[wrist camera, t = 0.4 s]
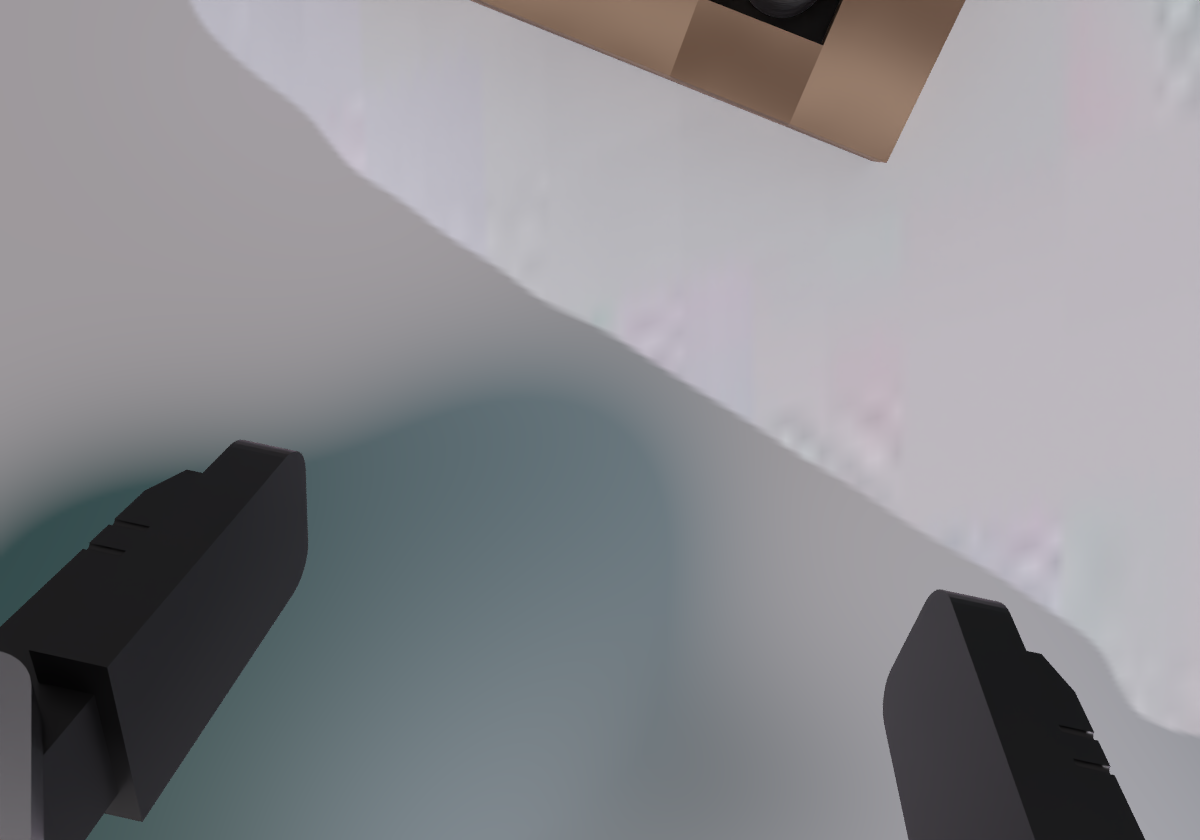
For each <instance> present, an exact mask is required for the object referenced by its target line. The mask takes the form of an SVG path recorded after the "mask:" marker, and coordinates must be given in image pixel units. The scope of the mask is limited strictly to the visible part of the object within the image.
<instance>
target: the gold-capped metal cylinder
mask: <svg viewBox="0 0 1200 840" xmlns="http://www.w3.org/2000/svg"><path fill="white" fill-rule="evenodd" d="M816 1H817V0H750V2H751V3H752V4H753V5H754V7H756V8H757V9H758V10H759V11H761V12H762V13H764V14H766V15H768V16H771V17H776V18H787V17H792V16H795V15H798V14H800V13H802V12H804V11H805V10H807V9H808V8H809V7H811V6H812V5H813V4H814V3H815V2H816Z"/></svg>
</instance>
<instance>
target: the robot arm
mask: <svg viewBox="0 0 1200 840" xmlns="http://www.w3.org/2000/svg"><path fill="white" fill-rule="evenodd" d="M305 471H306V469H305V462H304V458H303V456H302V454H301V453H300V452H298V451H293V450H288V449H283V448H279V447H274V446H269V445H265V444H260V443H255V442H250V441H246V440H238V441H236V442H234V443H232V444H231V445H230V446H229V447H228V448H227V449H226V450H225V451H224V452H223V453H222V454H221V455H220V456H219V457H218V458H217V459H216V460H215V461H214V462H213V463H212V464H211V465H210V466H209V467H208V468H207V469H206V470H205V471H204V472H203V473H199V472H195V471H190V470H185V471H183V472H181V473H179V474H177V475H175V476H173V477H171V478H169V479H167V480H165V481H163V482H161V483H159V484H157V485H155V486H153V487H151V488H149V489H147V490H145V491H144V492H143V493H142V494H141V495H140V496H139V497H138V498H137V499H135V500H134V502H132V503H131V504H130V505H129V506H128V507H127V508H126V509H125V510H124V511H123V512H122V513H121V514H120V515H118V516H117V517H116V518H115V522H114V524H113V525H108V526H107V527H106V528H105V529H104V530H103V531H101V532H100V533H99V534H98V535H97V536H96V537H95V538H94V539H93V540H92V541H91V542H90V545H89V548H88V549H87V550H85V549H82V550H81V551H80V552H79V553H78V554H77V555H76V556H75V557H74V558H73V559H72V560H71V561H70V562H69V563H68V564H67V565H65V567H63V568H62V569H61V570H60V571H59V572H58V573H57V574H56V575H55V576H54V577H53V578H52V579H51V580H50V581H48V582H47V584H45V585H44V586H43V587H42V588H41V589H40V590H39V591H38V592H37V593H36V594H35V595H34V596H33V597H32V598H30V599H29V600H28V601H27V602H26V603H25V604H24V605H23V606H22V607H21V608H20V609H19V610H18V611H17V612H16V613H15V614H13V615H12V616H11V617H10V618H9V619H8V620H7V621H6V622H5V623H4V624H3V625H2V626H1V627H0V840H85V839H86V838H87V836H88V835H89V834H90V832H91V831H92V829H93V828H94V827H95V825H96V824H97V822H98V821H99V820H100V818H101V817H102V815H103V814H104V813H105V814H110V815H114V816H119V817H124V818H128V819H132V820H136V821H141V822H143V820H144V819H145V817H146V816H147V814H148V813H149V811H150V810H151V808H152V806H153V805H154V804H155V802H156V800H157V799H158V797H159V796H160V794H161V793H162V791H163V790H164V788H165V787H166V785H167V784H168V782H169V781H170V779H171V778H172V776H173V775H174V773H175V772H176V770H177V769H178V767H179V765H180V764H181V763H182V761H183V760H184V758H185V757H186V755H187V754H188V752H189V751H190V749H191V747H192V746H193V745H194V743H195V741H196V740H197V738H198V737H199V735H200V734H201V732H202V731H203V729H204V728H205V726H206V725H207V723H208V722H209V720H210V719H211V717H212V716H213V714H214V713H215V711H216V710H217V708H218V707H219V705H220V704H221V702H222V701H223V699H224V698H225V696H226V694H227V693H228V692H229V690H230V688H231V687H232V685H233V684H234V683H235V681H236V680H237V678H238V676H239V675H240V673H241V672H242V670H243V669H244V667H245V666H246V664H247V663H248V661H249V659H250V658H251V657H252V655H253V654H254V652H255V651H256V649H257V648H258V646H259V645H260V643H261V642H262V640H263V639H264V637H265V636H266V634H267V633H268V631H269V629H270V628H271V626H272V625H273V624H274V622H275V620H276V619H277V617H278V616H279V614H280V613H281V611H282V610H283V608H284V607H285V605H286V604H287V602H288V601H289V599H290V598H291V596H292V595H293V593H294V591H295V590H296V587H297V586H298V584H299V581H300V579H301V576H302V573H303V570H304V567H305V563H306V558H307V551H308V529H307V528H308V527H307V499H306V472H305ZM883 718H884V725H885V730H886V735H887V739H888V744H889V748H890V753H891V758H892V763H893V767H894V772H895V777H896V782H897V787H898V791H899V796H900V801H901V805H902V810H903V815H904V820H905V824H906V829H907V834H908V839H909V840H1145V838H1144V836H1143V834H1142V832H1141V830H1140V828H1139V826H1138V824H1137V822H1136V819H1135V817H1134V815H1133V813H1132V811H1131V809H1130V807H1129V805H1128V803H1127V801H1126V798H1125V796H1124V794H1123V792H1122V790H1121V788H1120V786H1119V784H1118V782H1117V779H1116V777H1115V776H1114V775H1110V773H1109V768H1110V765H1109V763H1108V761H1107V759H1106V756H1105V754H1104V752H1103V750H1102V748H1101V746H1100V744H1099V742H1098V741H1097V740H1094V739H1093V734H1094V731H1093V729H1092V727H1091V725H1090V723H1089V721H1088V719H1087V716H1086V715H1085V712H1084V710H1083V708H1082V706H1081V704H1080V702H1079V700H1078V698H1077V695H1076V694H1075V692H1074V690H1073V689H1072V688H1071V687H1070V686H1069V685H1068V684H1067V683H1066V681H1064V679H1063V678H1062V677H1061V676H1060V675H1059V674H1058V673H1057V671H1056V670H1055V669H1054V668H1053V667H1052V666H1051V665H1050V663H1049V662H1048V661H1047V660H1046V659H1045V658H1044V657H1043V655H1042V654H1039V653H1034V652H1029V651H1026V649H1025V647H1024V644H1023V642H1022V640H1021V638H1020V635H1019V633H1018V631H1017V628H1016V626H1015V624H1014V621H1013V619H1012V617H1011V615H1010V612H1009V611H1008V609H1007V608H1006V606H1005V605H1003V604H1002V603H1000V602H997V601H992V600H987V599H982V598H978V597H973V596H968V595H964V594H959V593H954V592H950V591H945V590H936V591H934V592H933V593H932V594H931V595H930V596H929V597H928V599H927V600H926V602H925V604H924V606H923V608H922V610H921V612H920V614H919V616H918V618H917V620H916V622H915V624H914V626H913V628H912V629H911V631H910V633H909V636H908V637H907V639H906V641H905V643H904V645H903V647H902V649H901V651H900V653H899V655H898V657H897V659H896V661H895V663H894V665H893V667H892V669H891V671H890V673H889V676H888V679H887V682H886V686H885V691H884V700H883Z"/></svg>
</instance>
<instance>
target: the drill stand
mask: <svg viewBox="0 0 1200 840" xmlns="http://www.w3.org/2000/svg"><path fill="white" fill-rule="evenodd" d="M471 1H473V2H476V3H478V4H481V5H483V6H486V7H488V8H491V9H493V10H496V11H498V12H501V13H503V14H506V15H508V16H511V17H513V18H516V19H518V20H521V21H523V22H526V23H528V24H531V25H533V26H536V27H538V28H541V29H543V30H546V31H548V32H551V33H553V34H556V35H558V36H561V37H563V38H566V39H568V40H571V41H573V42H576V43H578V44H581V45H583V46H586V47H588V48H591V49H593V50H596V51H598V52H601V53H603V54H606V55H608V56H611V57H613V58H616V59H618V60H621V61H623V62H626V63H628V64H631V65H633V66H636V67H638V68H641V69H643V70H646V71H648V72H651V73H653V74H656V75H658V76H661V77H663V78H666V79H668V80H671V81H673V82H676V83H678V84H681V85H683V86H686V87H688V88H691V89H693V90H696V91H698V92H701V93H703V94H706V95H708V96H711V97H713V98H716V99H718V100H721V101H723V102H726V103H728V104H731V105H733V106H736V107H738V108H741V109H743V110H746V111H748V112H751V113H753V114H756V115H758V116H761V117H763V118H766V119H768V120H771V121H773V122H776V123H778V124H781V125H783V126H786V127H788V128H791V129H793V130H796V131H798V132H801V133H803V134H806V135H808V136H811V137H813V138H816V139H818V140H821V141H823V142H826V143H828V144H831V145H833V146H836V147H838V148H841V149H843V150H846V151H848V152H851V153H853V154H856V155H858V156H861V157H863V158H866V159H868V160H871V161H876V162H884V163H887V161H888V159H889V157H890V155H891V153H892V151H893V149H894V146H895V144H896V142H897V140H898V138H899V136H900V134H901V132H902V130H903V128H904V126H905V124H906V122H907V120H908V118H909V116H910V113H911V111H912V109H913V107H914V105H915V103H916V101H917V99H918V97H919V95H920V93H921V91H922V89H923V87H924V85H925V83H926V80H927V78H928V76H929V74H930V72H931V70H932V68H933V66H934V64H935V62H936V60H937V58H938V56H939V54H940V52H941V50H942V47H943V45H944V43H945V41H946V39H947V37H948V35H949V33H950V31H951V29H952V27H953V25H954V23H955V21H956V19H957V17H958V14H959V12H960V10H961V8H962V6H963V4H964V2H965V0H840V1H839V3H838V5H837V8H836V10H835V12H834V15H833V17H832V19H831V22H830V24H829V26H828V29H827V31H826V33H825V36H824V38H823V40H822V42H821V44H818V43H816V42H813V41H811V40H808V39H805V38H803V37H800V36H798V35H795V34H793V33H790V32H788V31H785V30H783V29H780V28H778V27H775V26H773V25H770V24H767V23H765V22H762V21H760V20H757V19H755V18H752V17H750V16H747V15H745V14H742V13H740V12H737V11H735V10H732V9H729V8H727V7H724V6H722V5H719V4H717V3H714V2H712V1H709V0H471Z"/></svg>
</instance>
